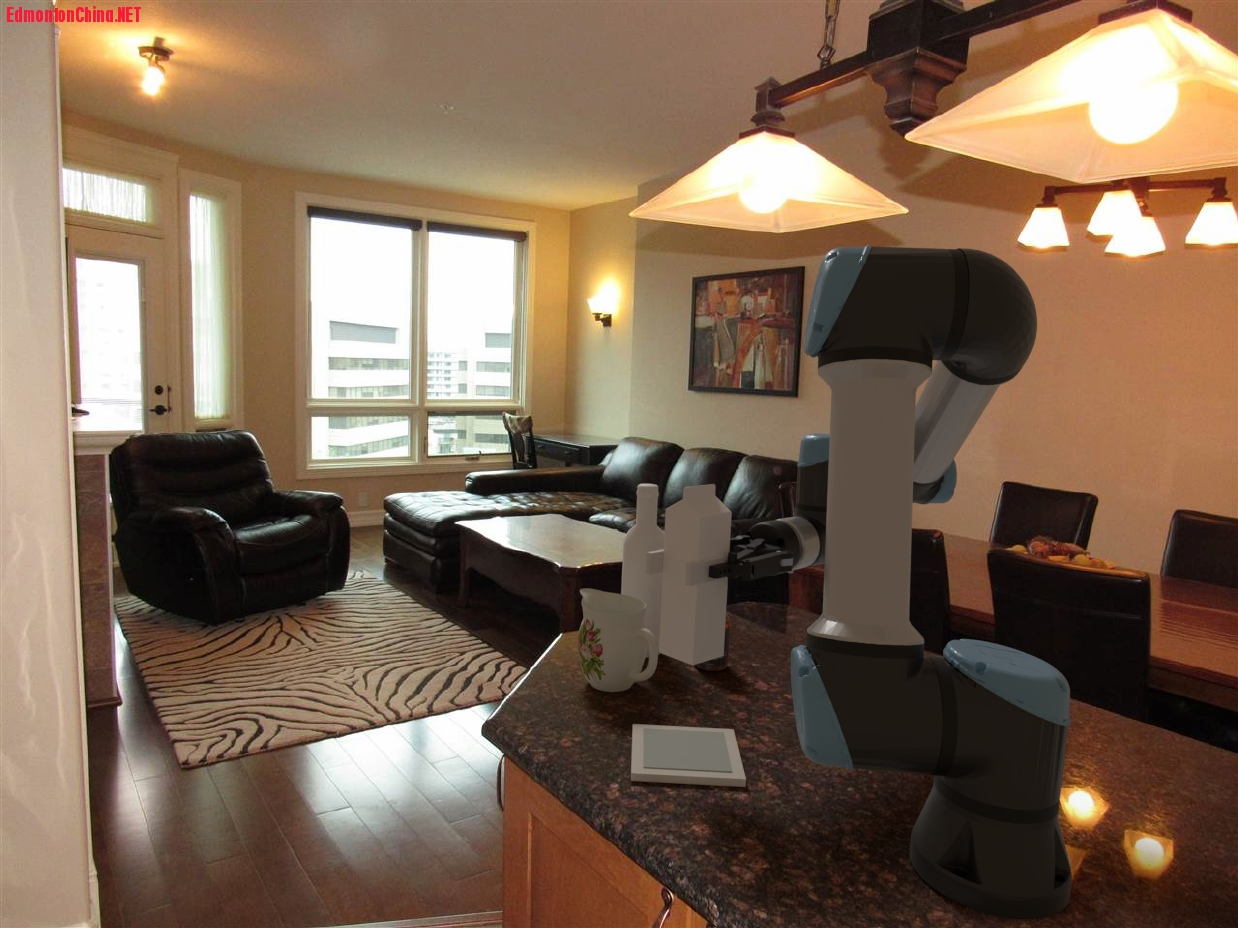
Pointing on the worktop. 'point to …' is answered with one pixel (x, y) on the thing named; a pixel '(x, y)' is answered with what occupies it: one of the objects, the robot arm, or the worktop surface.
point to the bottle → (644, 559)
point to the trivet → (686, 755)
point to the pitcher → (614, 641)
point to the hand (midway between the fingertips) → (668, 568)
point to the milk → (699, 609)
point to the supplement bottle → (721, 661)
